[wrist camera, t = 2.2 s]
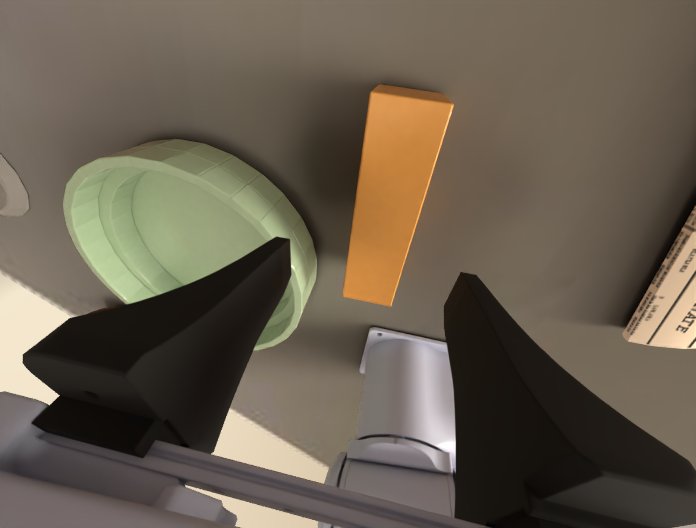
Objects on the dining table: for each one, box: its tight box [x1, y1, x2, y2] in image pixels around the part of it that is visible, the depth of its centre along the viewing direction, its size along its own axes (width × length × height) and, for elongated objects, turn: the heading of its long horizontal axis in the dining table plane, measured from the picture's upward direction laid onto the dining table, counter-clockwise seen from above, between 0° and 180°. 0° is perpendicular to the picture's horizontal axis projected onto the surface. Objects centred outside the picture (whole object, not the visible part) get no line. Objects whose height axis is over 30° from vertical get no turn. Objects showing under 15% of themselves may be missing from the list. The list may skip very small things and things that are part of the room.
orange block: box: [343, 84, 453, 306], centre depth 16 cm, size 3×12×4 cm, turn 174°
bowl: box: [63, 139, 317, 351], centre depth 21 cm, size 17×17×4 cm
